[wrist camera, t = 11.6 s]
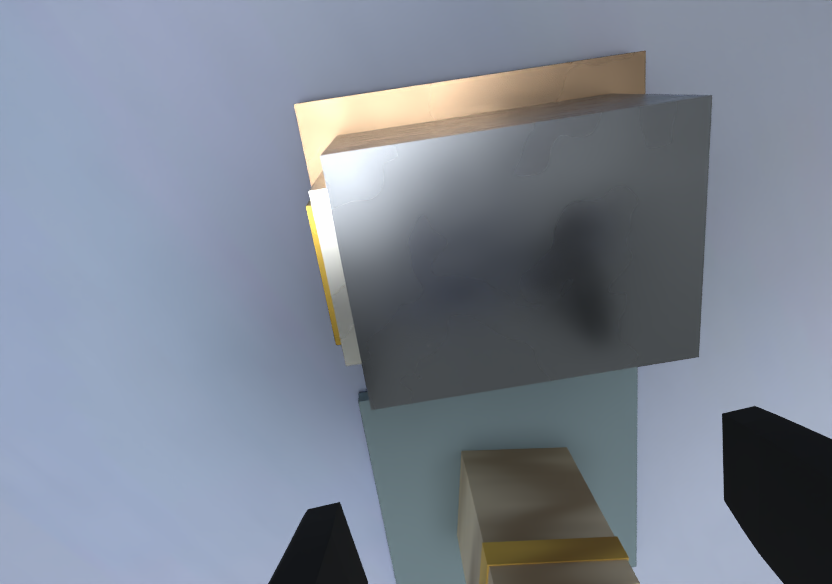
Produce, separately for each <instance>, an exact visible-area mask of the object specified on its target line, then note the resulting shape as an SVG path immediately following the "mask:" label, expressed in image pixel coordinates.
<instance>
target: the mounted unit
mask: <svg viewBox="0 0 832 584" xmlns="http://www.w3.org/2000/svg"><path fill="white" fill-rule="evenodd" d="M645 63H646V51H640V52H633V53H626V54H620V55H613V56H606V57H600V58H593V59H587V60H580V61H574V62H567V63H561V64H554V65H547V66H541V67H534V68H528V69H521V70H515V71H508V72H501V73H495V74H488V75H482V76H475V77H469V78H462V79H456V80H449V81H442V82H436V83H429V84H423V85H416V86H410V87H403V88H397V89H390V90H383V91H377V92H370V93H364V94H357V95H351V96H344V97H337V98H331V99H324V100H318V101H311V102H305V103H298V104H294V107H295V112H296V116H297V121H298V126H299V131H300V135H301V140H302V145H303V150H304V154H305V159H306V164H307V169H308V173H309V178H310V183H311V189H310V190H309V195H310V201H309V202H308V204H307V206H306V209H307V213H308V218H309V223H310V227H311V232H312V236H313V241H314V246H315V250H316V255H317V259H318V264H319V269H320V273H321V278H322V282H323V287H324V292H325V296H326V301H327V305H328V310H329V315H330V319H331V324H332V328H333V333H334V338H335V342H336V345H342V350H343V354H344V359H345V364H346V366H351V365H357V364H362V367H363V372H364V377H365V382H366V387H367V392H368V397H369V402H370V407H371V410H376V409H382V408H388V407H394V406H400V405H406V404H412V403H419V402H425V401H431V400H437V399H443V398H449V397H456V396H462V395H468V394H474V393H480V392H486V391H492V390H499V389H505V388H511V387H517V386H523V385H529V384H536V383H542V382H548V381H554V380H560V379H566V378H572V377H579V376H585V375H591V374H597V373H603V372H609V371H616V370H622V369H628V368H634V367H640V366H646V365H652V364H659V363H665V362H671V361H677V360H683V359H689V358H696V357H699V344H700V324H701V305H702V285H703V265H704V246H705V226H706V207H707V187H708V168H709V148H710V129H711V109H712V95H669V94H645Z"/></svg>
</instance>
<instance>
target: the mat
mask: <svg viewBox="0 0 832 584" xmlns="http://www.w3.org/2000/svg"><path fill="white" fill-rule="evenodd" d="M358 402H359V407H360V412H361V417H362V422H363V426H364V431H365V436H366V441H367V445H368V450H369V455H370V460H371V464H372V469H373V474H374V479H375V484H376V488H377V493H378V498H379V503H380V507H381V512H382V517H383V522H384V526H385V531H386V536H387V541H388V546H389V550H390V555H391V560H392V565H393V569H394V574H395V579H396V584H466V581H465V576H464V570H463V565H462V559H461V554H460V549H459V543H458V538H457V525H458V506H459V487H460V467H461V451H470V450H500V449H530V448H560V447H567V448H568V450H569V452H570V454H571V456H572V458H573V460H574V461H575V463H576V465H577V467H578V469H579V471H580V473H581V475H582V476H583V478H584V480H585V482H586V484H587V486H588V488H589V489H590V491H591V493H592V495H593V497H594V499H595V501H596V502H597V504H598V506H599V508H600V510H601V512H602V514H603V515H604V517H605V519H606V521H607V523H608V525H609V527H610V528H611V530H612V532H613V534H614V536H617V537H618V539H619V540H620V542H621V544H622V546H623V548H624V550H625V551H626V553H627V555H628V557H629V561H628V562H629V564H630V566H631V567H636V539H637V367H634V368H628V369H622V370H616V371H609V372H603V373H597V374H591V375H585V376H579V377H572V378H566V379H560V380H554V381H548V382H542V383H536V384H529V385H523V386H517V387H511V388H505V389H499V390H492V391H486V392H480V393H474V394H468V395H462V396H456V397H449V398H443V399H437V400H431V401H425V402H419V403H412V404H406V405H400V406H394V407H388V408H382V409H376V410H371V407H370V402H369V397H368V392H362V393H359V400H358Z"/></svg>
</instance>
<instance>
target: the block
mask: <svg viewBox="0 0 832 584" xmlns="http://www.w3.org/2000/svg"><path fill="white" fill-rule="evenodd" d="M457 538H458V543H459V549H460V554H461V559H462V565H463V570H464V576H465V581H466V584H640V582H639V581H638V579H637V577H636V575H635V573H634V571H633V569H632V568H631V566H630V564H629V562H628V561H629V557H628V555H627V553H626V551H625V550H624V548H623V546H622V544H621V542H620V540H619V539H618V537H617V536H614V534H613V532H612V530H611V528H610V527H609V525H608V523H607V521H606V519H605V517H604V515H603V514H602V512H601V510H600V508H599V506H598V504H597V502H596V501H595V499H594V497H593V495H592V493H591V491H590V489H589V488H588V486H587V484H586V482H585V480H584V478H583V476H582V475H581V473H580V471H579V469H578V467H577V465H576V463H575V461H574V460H573V458H572V456H571V454H570V452H569V450H568V448H567V447H560V448H530V449H500V450H470V451H461V467H460V487H459V506H458V525H457Z"/></svg>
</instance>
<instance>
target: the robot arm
mask: <svg viewBox="0 0 832 584" xmlns="http://www.w3.org/2000/svg"><path fill="white" fill-rule="evenodd" d="M722 429H723V474H724V501H725V503H726V504H727V506H728V507H729V509H730V510H731V512H732V514H733V515H734V517H735V518H736V520H737V521H738V523H739V524H740V526H741V528H742V529H743V531H744V532H745V534H746V535H747V537H748V538H749V540H750V541H751V542H752V544H753V545H754V547H755V548H756V550H757V551H758V553H759V554H760V555H761V557H762V558H763V559H764V560H765V561H766V563H767V564H768V565H769V566H770V568H771V569H772V570H773V571H774V572H775V574H776V575H777V576H778V577H779V579H780V580H781V581H782V582H783V583H784V584H832V439H830V438H828V437H826V436H823V435H821V434H819V433H817V432H814V431H812V430H810V429H808V428H805V427H803V426H801V425H799V424H796V423H794V422H792V421H790V420H787V419H785V418H783V417H780V416H778V415H776V414H773V413H771V412H769V411H766V410H764V409H761V408H759V407H756V406H753V407H749V408H745V409H740V410H736V411H732V412H727V413H723V414H722ZM268 584H368V581H367V578H366V575H365V572H364V569H363V567H362V564H361V561H360V558H359V555H358V552H357V550H356V547H355V544H354V541H353V538H352V535H351V533H350V530H349V527H348V524H347V521H346V518H345V516H344V513H343V510H342V507H341V504H340V502H338V503H334V504H329V505H325V506H321V507H316V508H312V509H308V510H307V512H306V513H305V515H304V516H303V518H302V520H301V522H300V524H299V526H298V528H297V530H296V532H295V534H294V536H293V538H292V540H291V542H290V543H289V545H288V547H287V549H286V551H285V553H284V555H283V557H282V559H281V561H280V563H279V565H278V566H277V568H276V570H275V572H274V574H273V576H272V578H271V580H270V581H269V583H268Z"/></svg>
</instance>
